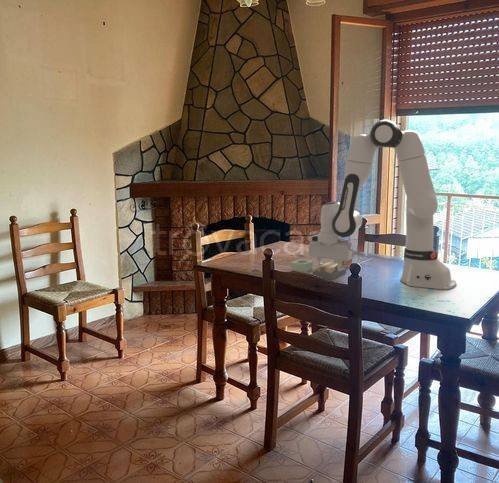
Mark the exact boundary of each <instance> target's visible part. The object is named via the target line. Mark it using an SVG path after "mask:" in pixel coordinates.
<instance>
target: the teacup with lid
mask: <svg viewBox="0 0 499 483" xmlns="http://www.w3.org/2000/svg"><path fill="white" fill-rule="evenodd" d="M351 252H352V259H351V260H350V261H343V262H342V264H341V268H346V269H350V268H349V266H350V265H351V264H352V265H353V258H354V255H355V252H354V249H353V247H352V248H351ZM333 263H337V264H338V260H333Z"/></svg>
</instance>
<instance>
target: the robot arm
mask: <svg viewBox="0 0 499 483" xmlns="http://www.w3.org/2000/svg"><path fill="white" fill-rule="evenodd" d="M348 147H349V148H348V151H347V155H346V161H345V170H344V178H343V179H344V180H343V186H342V190H341V196H340V202H339V201H330V202H329V201H328V202H326V203H323V205H322V206H321V209H320V229H319V233H317V234H314V235H312V236H310V237H309V241H310V242H309V243H308V249H307V250H308V251H307V252H308V253H307V254H308V256H309V257H311V258H316V260H317V263H318V264H319V265H318V266H321V265H323V264H325V263H324V262H323V261H322V259H326V260H327V259H329V260H333V261H334V260H338V265H336V266H335V269H336V270H340V265H341V264H342V262H343V261H350V260H351V259H352V260H353V258H352V252H351V248H353V247H352V243H351V241H349V240H348V239H342V238H349V237H350V236H352V235H353V234H354V233H355V232H357V230H359V229H360V228H361V227H362V225H363V216H362V214H361V213H360V212H359V211H357V210H355V209H356V208H355V207H356V202H357V198H358V194H359V192H360V190H361V188H362V187H363V185H364V184H365V183H366V182H367V181H368V180H369V178H370V175H371V173H372V169H373V163H374V157H375V154H376V152H377V150H378V149H379V148H390V149H391V148H392V149H393V150H394V151H395V155H396V159H397V163H398V168H399V171H400V176H401V180H402V181H401V182H402V184H403V188H404V191H405V195H406V201H405V202H406V203H405V204H406V205H405V206H406V207H405V208H406V209H405V210H406V212H405V213H406V214H405V219H406V222H405V226H406V227H405V228H406V231H405V232H406V233H405V234H406V236H405V247H404V251H403V261H404V262H403V263H404V264H403V268H402V272H401V277H400V279H399V280H400V281H401V282H402V283H404V284H406V285H407V286H409V287H414V288H415V287H416V288H425V289H435V290H436V289H437V290H451V289H453V288H455V287H456V286H457V281H456V280H454V279H452V276H451V275H452V274H451V270H450V268H449V267H448V266H446V264H444V263H443V262H441V261H440V260H439V259H438V254H439V250H437V251H436V250H435V249H434V239H435V238H434V237H435V229H434V228H435V227H434V225H435V224H434V215H435V214H436V212H437V210H438V205H439V204H438V199H437V194H436V191H435V188H434V184H433V180H432V176H431V175H430V170H429V165H428V162H427V155H426V151H425V146H424V144H423V142H422V139H421V137H420V135H419V133H418V132H417V131H414V130H404V131H402V130H401V129H400V128H399V127H398V126H397V124H396V123H395V122H394V121H392V120H389V119H382V120H381V119H380V120H378V121H377V122H375V123H374V124H373V125H372V128H371V130H370V132H369V133H367V134H364V133H363V134H357V135H355V136H354V137H353V138H351V141H350V144H349V146H348Z"/></svg>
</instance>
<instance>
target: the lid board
mask: <svg viewBox="0 0 499 483" xmlns="http://www.w3.org/2000/svg"><path fill="white" fill-rule="evenodd" d="M336 265H338V264H337V263H334V262H329V261H328V262H326V263H324V264H323V265H321V266H319V265H318V266H317V269H318V271H321V272H327V273H332V272H334V271H337V270H336V269H335V266H336ZM340 269H341V265H340Z"/></svg>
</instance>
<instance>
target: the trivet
mask: <svg viewBox="0 0 499 483" xmlns="http://www.w3.org/2000/svg"><path fill="white" fill-rule="evenodd" d="M346 274H347V268H341V269H340V270H337V271H334V272H332V273H327V272H321V271H318V268H317V269H314V270H312V276H313V275H316V276H319V277H322V278H321V279H324V278H325V280H331V281H333V280H336V279H338V278H339V277H342V276H344V275H346Z"/></svg>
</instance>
